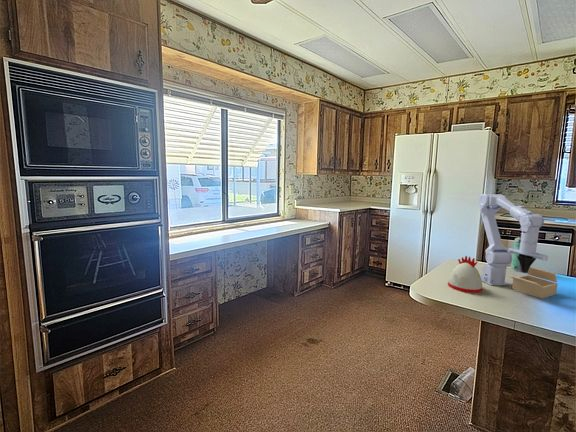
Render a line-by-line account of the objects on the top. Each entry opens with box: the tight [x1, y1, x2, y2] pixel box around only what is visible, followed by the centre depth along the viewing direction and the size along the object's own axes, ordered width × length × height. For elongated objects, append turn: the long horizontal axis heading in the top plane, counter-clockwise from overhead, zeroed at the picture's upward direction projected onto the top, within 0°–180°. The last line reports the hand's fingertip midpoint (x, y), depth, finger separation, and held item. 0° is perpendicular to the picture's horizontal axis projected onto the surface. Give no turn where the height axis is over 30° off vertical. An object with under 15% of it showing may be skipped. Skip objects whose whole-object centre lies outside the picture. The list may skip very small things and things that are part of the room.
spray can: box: [510, 234, 523, 273], centre depth 174 cm, size 6×6×20 cm
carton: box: [511, 274, 559, 300], centre depth 144 cm, size 12×12×5 cm
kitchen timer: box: [447, 255, 483, 294], centre depth 146 cm, size 14×14×15 cm
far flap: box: [527, 266, 558, 283], centre depth 145 cm, size 6×11×1 cm
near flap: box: [507, 274, 542, 287], centre depth 139 cm, size 6×11×1 cm, turn 27°
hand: (524, 272), depth 138 cm, fingers closed
